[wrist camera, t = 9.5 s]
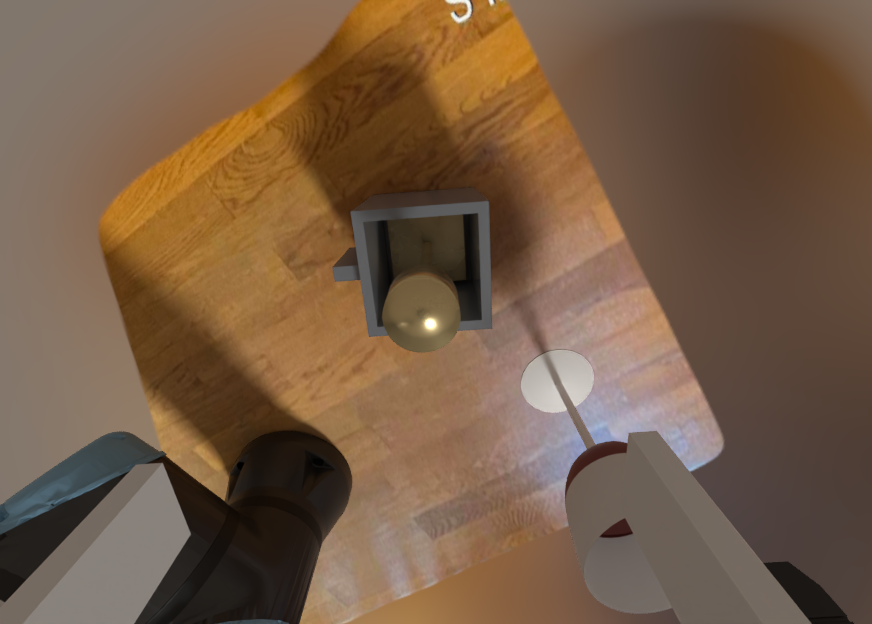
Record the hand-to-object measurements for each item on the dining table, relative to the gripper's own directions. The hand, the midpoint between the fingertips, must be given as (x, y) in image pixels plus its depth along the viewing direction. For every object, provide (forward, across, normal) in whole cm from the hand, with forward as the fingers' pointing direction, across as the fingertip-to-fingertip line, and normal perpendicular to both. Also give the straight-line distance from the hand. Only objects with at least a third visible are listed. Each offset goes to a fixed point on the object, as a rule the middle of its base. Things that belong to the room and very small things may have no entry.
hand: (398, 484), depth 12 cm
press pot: (+33, -1, 0) cm, 33 cm away
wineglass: (+33, +14, -18) cm, 40 cm away
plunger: (+31, +1, 0) cm, 31 cm away
